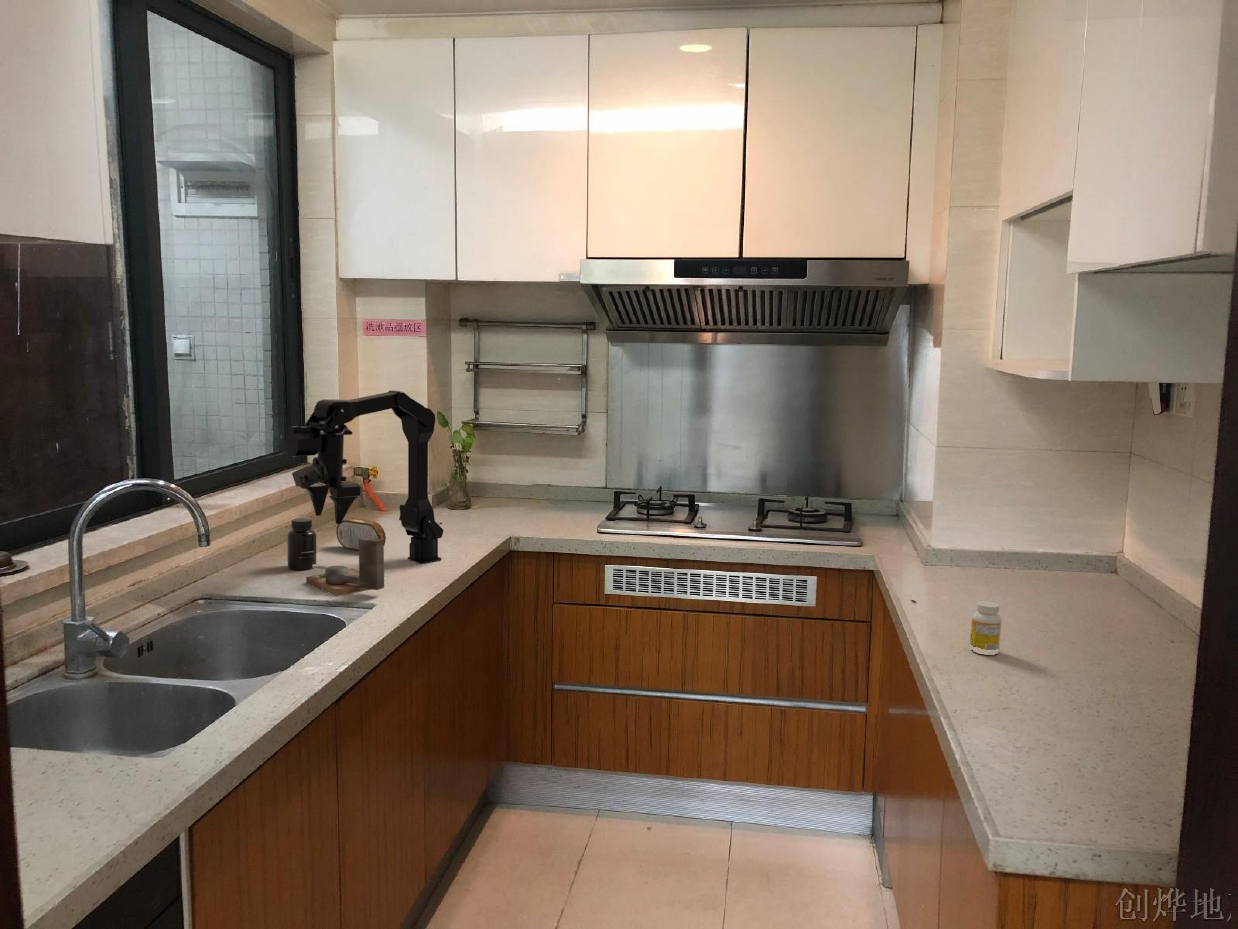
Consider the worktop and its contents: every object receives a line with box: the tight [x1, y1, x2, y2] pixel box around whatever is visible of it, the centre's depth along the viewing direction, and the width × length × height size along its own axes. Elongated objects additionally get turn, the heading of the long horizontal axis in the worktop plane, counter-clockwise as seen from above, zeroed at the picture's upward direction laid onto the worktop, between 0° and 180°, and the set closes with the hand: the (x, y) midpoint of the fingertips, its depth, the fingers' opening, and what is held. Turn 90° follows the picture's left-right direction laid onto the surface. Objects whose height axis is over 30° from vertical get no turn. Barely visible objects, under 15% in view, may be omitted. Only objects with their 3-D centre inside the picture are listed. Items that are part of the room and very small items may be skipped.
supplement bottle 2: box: [969, 600, 1003, 650], centre depth 181 cm, size 5×5×10 cm
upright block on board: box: [312, 537, 385, 591], centre depth 211 cm, size 20×5×11 cm, turn 65°
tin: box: [336, 517, 387, 552], centre depth 250 cm, size 15×3×8 cm, turn 65°
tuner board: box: [305, 568, 370, 597], centre depth 217 cm, size 12×14×2 cm
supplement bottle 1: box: [286, 517, 317, 571], centre depth 231 cm, size 7×7×12 cm
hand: (328, 519), depth 219 cm, fingers open, 9 cm apart
